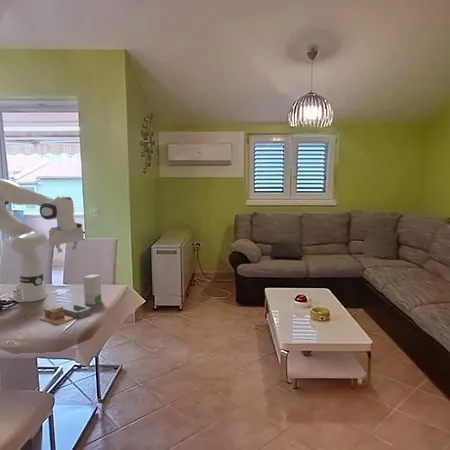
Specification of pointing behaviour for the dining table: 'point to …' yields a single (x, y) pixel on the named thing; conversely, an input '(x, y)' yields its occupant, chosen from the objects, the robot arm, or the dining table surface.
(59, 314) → the walnut block
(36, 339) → the dining table surface
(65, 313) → the frame
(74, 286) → the dining table surface
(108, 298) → the dining table surface
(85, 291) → the skincare box
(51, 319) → the rubber pad
